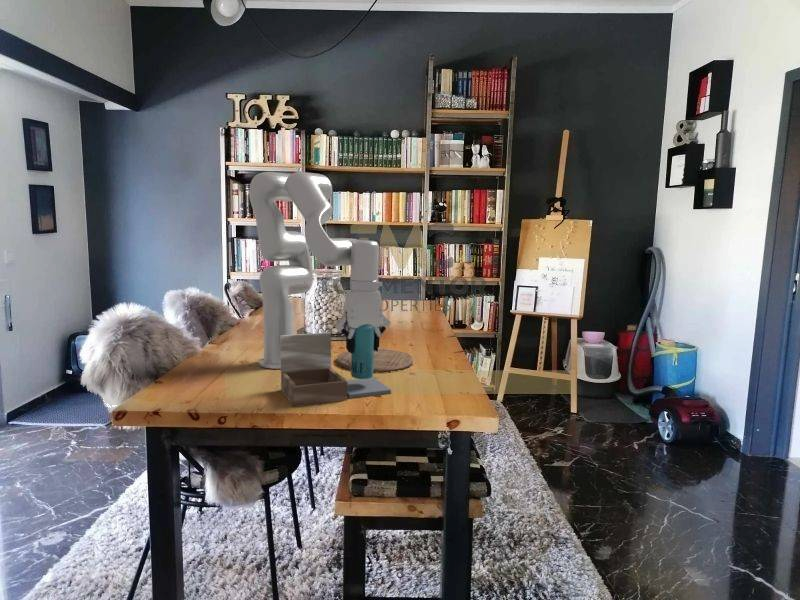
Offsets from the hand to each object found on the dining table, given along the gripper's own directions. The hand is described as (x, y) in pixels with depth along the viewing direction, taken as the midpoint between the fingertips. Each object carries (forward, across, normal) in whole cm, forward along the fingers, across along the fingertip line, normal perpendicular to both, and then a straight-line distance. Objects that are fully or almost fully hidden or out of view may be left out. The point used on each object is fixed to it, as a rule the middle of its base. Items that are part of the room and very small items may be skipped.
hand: (362, 350), depth 144 cm
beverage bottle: (+9, 0, 0) cm, 9 cm away
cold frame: (+11, +14, 0) cm, 18 cm away
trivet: (+12, -14, -25) cm, 31 cm away
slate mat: (+11, 0, 0) cm, 11 cm away
